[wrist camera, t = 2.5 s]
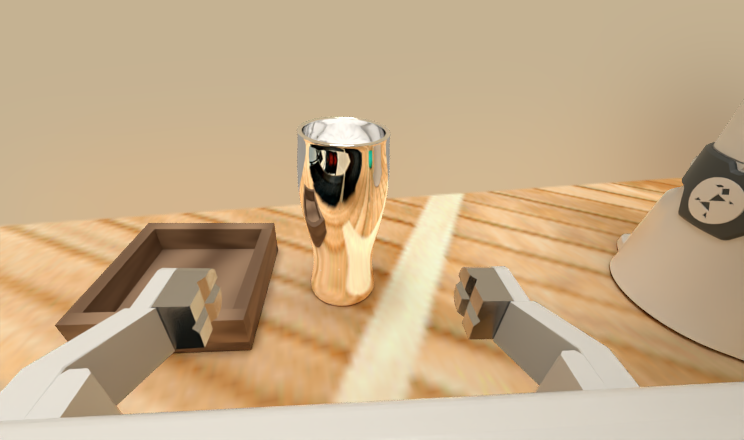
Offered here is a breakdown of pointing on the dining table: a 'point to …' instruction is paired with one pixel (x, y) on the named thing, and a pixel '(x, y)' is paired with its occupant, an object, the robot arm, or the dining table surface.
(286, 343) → the dining table surface
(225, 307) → the walnut tray
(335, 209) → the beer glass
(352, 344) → the dining table surface
